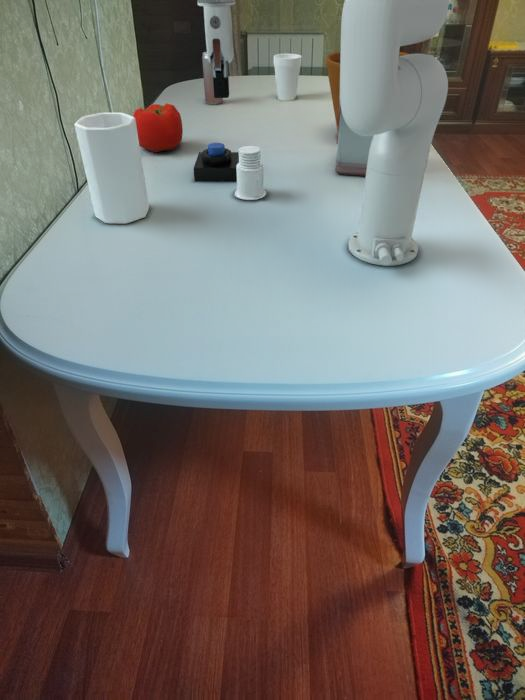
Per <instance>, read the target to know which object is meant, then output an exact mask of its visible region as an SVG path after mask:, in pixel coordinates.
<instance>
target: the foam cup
mask: <svg viewBox="0 0 525 700" xmlns="http://www.w3.org/2000/svg"><path fill="white" fill-rule="evenodd" d="M302 57H303V55H301V54H296V53H277V54H274V55H273V61H272V62H273V68H274V77H275V87H276V97H277V99H278V100H279V101H286V102H288V101H294V100H296V97H297V92H298V84H299V78H300V72H301V65H302Z"/></svg>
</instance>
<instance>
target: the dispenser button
mask: <svg viewBox="0 0 525 700" xmlns="http://www.w3.org/2000/svg"><path fill="white" fill-rule="evenodd" d="M225 148H226V146H225V144H224V143H222V142H211V143H208V144H207V149H208V154H209V155H213V156H218V155H223V154H225Z"/></svg>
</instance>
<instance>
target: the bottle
mask: <svg viewBox="0 0 525 700" xmlns="http://www.w3.org/2000/svg"><path fill="white" fill-rule="evenodd" d="M339 99H340V95H339ZM338 126H339V132H338V131H337V137H336V145H337V147H336V158H335V160H336V161H335V163H336V166H335V172H336V173H337V174H339V175H345V176H358V177H359V176H360V177H366V170H367V162H368V156H369V150H370V146H371V142H372V139H373V136H361V135H358V134H356V133H354V132H353V131H352V130H351V129H350V128H349V127H348V126H347V124H346V122H345V120H344V118H343V115H342V111H341V105H340V101H339V113H338Z"/></svg>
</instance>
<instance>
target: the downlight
mask: <svg viewBox="0 0 525 700" xmlns="http://www.w3.org/2000/svg"><path fill="white" fill-rule="evenodd" d="M238 152H239V163H238V164H237V165H236V170H237V182H236V190H235V191H234V196H235V197H236V198H237V199H240V200H243V201H244V200H245V201H256V200H260V199H262V198H264V197H266V195H267V191H266V190H265V189H264V163H262V162H261V148H260V147H259V146H255V145H244V146H241V147H239V148H238Z"/></svg>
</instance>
